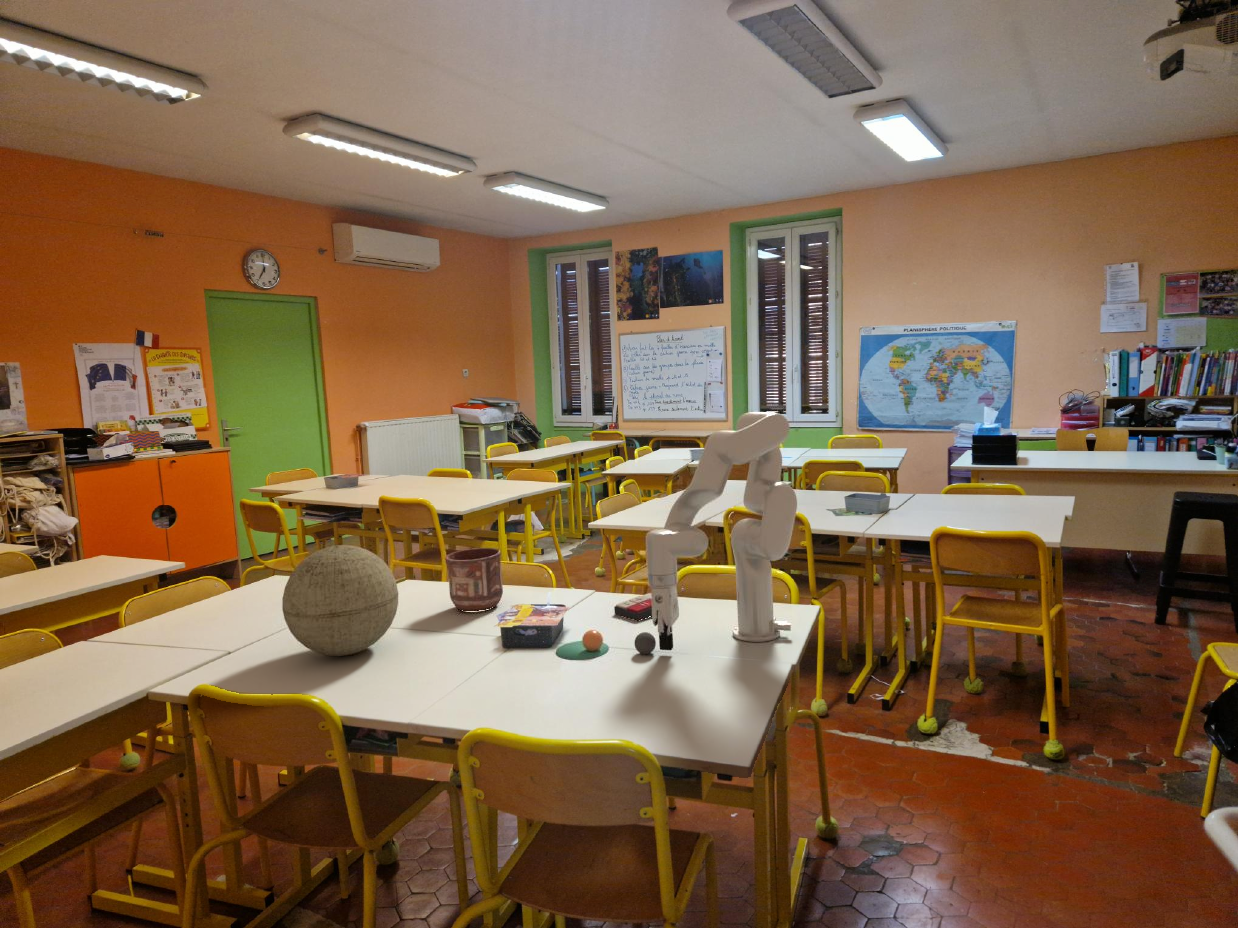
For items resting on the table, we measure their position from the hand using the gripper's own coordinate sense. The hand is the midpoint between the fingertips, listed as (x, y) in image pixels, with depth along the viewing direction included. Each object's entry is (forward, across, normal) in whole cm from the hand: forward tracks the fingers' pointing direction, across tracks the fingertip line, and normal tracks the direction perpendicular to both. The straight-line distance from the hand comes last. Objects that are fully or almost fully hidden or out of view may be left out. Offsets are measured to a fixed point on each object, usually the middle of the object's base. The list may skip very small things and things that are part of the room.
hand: (666, 648), depth 193 cm
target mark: (+2, 0, +23) cm, 23 cm away
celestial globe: (+2, -11, +88) cm, 89 cm away
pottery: (+2, +33, +72) cm, 79 cm away
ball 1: (-1, 0, +20) cm, 20 cm away
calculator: (+2, +34, +15) cm, 38 cm away
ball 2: (-1, 0, +6) cm, 6 cm away
